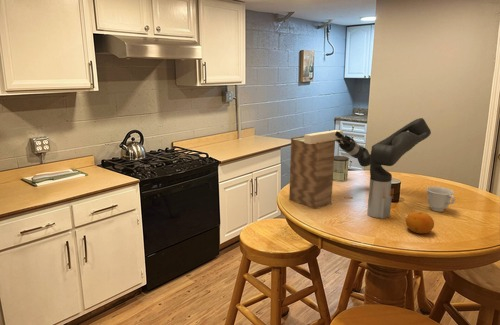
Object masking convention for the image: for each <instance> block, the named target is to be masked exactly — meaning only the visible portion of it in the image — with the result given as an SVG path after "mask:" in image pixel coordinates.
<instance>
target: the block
mask: <svg viewBox="0 0 500 325" xmlns="http://www.w3.org/2000/svg"><path fill="white" fill-rule="evenodd" d="M336 131H338V132H339V133H341V134H343V132H344V131H343V130H339V129H334V130H333V129H332V130H331V131H329V130H327V131H320V132H313V133H307V134H304V135H303V136H304V143H307V144H314V143H316V142H322V141H328V140H337V139H339V138H338V137H337V136H336V135H335V134H336ZM343 135H344V134H343Z"/></svg>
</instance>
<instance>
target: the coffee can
mask: <svg viewBox="0 0 500 325" xmlns="http://www.w3.org/2000/svg"><path fill="white" fill-rule="evenodd" d="M349 160H350V158H349V157H348V156H344V155H342V156H341V155H334V167H333V182H341V183H342V182H347V181H348V175H349V174H348V172H349Z"/></svg>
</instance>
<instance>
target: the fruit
mask: <svg viewBox="0 0 500 325" xmlns="http://www.w3.org/2000/svg"><path fill="white" fill-rule="evenodd" d="M405 224H406V226H407V228H408V229H409V230H410V231H411V232H413V233H416V234H419V235H420V234H428V233H430V232H431V231H432V230H433V229H434V228H435V221H434V219H433V217H432V216H431V215H429V214H428V213H425V212H410V213H409V214H408V215H407V216H406V219H405Z"/></svg>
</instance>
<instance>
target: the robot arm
mask: <svg viewBox="0 0 500 325" xmlns="http://www.w3.org/2000/svg"><path fill="white" fill-rule="evenodd" d="M328 131H332V130H330V129H329V130H328ZM431 133H432V131H431V129H430V127H429V126H428V124H427V122H426V120H425V119H424V118H423V117H420V118H416V119H414V120H412V121H410V122H409V123H407V124H406V125H404V126H402V127H401V128H399V129H398V130H395V132H393V133H392V134H391V135H389V136H387V137H386V138H384V139H382V140H380V141H378V142H376V143H375V144H372V146H371V150H370V152H369V150H368V149H367V148H366V147H363V146H361V145H359V144H358V142H357V141H356V140H355V139H354V138H352V137H351V136H348V135H347V134H345V135H344V134H341V133H339V132H338V131H336V134H335V135H336V136H337V137H338V138H339V139H337V140H335V143H337V144H338V147H339V148H340V149H341V150H343V152H345V153H346V154H348V155H350V156H351V157H352V158H354V159H357V161H358V164H359V165H360V166H361V167H368V166H369V175H370V179H369V189H368V200H367V212H366V213H367V215H368V216H370V217H372V218H376V219H382V220H383V219H386V218H388V217H390V216H391V209H392V208H391V206H392V199H393V197H392V195H391V190H392V189H391V188H392V179H393V176H392V174H391V172H389V171H388V170H386V169H385V168H384V167H383V166H386V167H392V166H394V165H395V164H396V163H397V162H399V161H400V159H401V158H402V157H403V156H404V155H405V154H407V153H408V152H409V151H410V150H413V148H414V147H416V145H418V144H420V142H422V141H424V140H426V139H427V138H428V137H429V136H431V135H432V134H431Z"/></svg>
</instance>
